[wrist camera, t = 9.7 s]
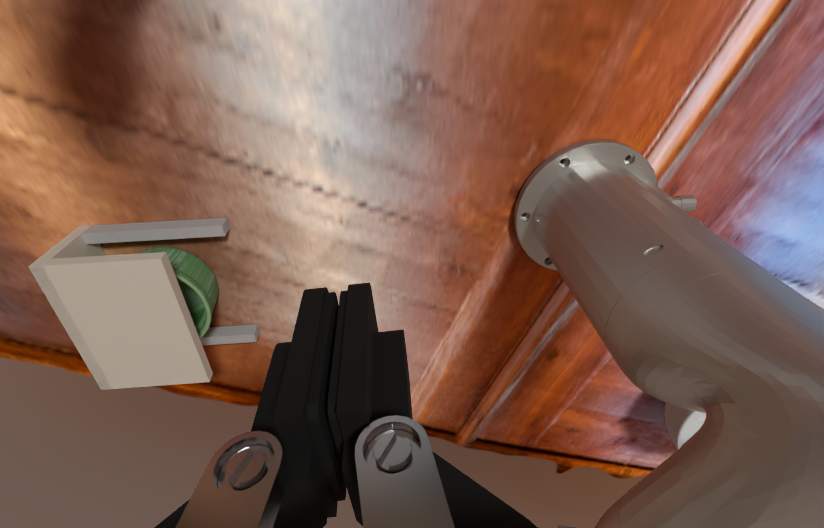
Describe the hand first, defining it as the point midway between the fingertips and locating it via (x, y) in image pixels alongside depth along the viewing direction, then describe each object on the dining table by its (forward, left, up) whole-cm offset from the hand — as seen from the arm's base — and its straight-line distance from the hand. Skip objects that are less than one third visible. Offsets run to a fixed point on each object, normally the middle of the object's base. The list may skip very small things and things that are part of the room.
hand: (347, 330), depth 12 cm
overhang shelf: (+19, +15, -26) cm, 36 cm away
